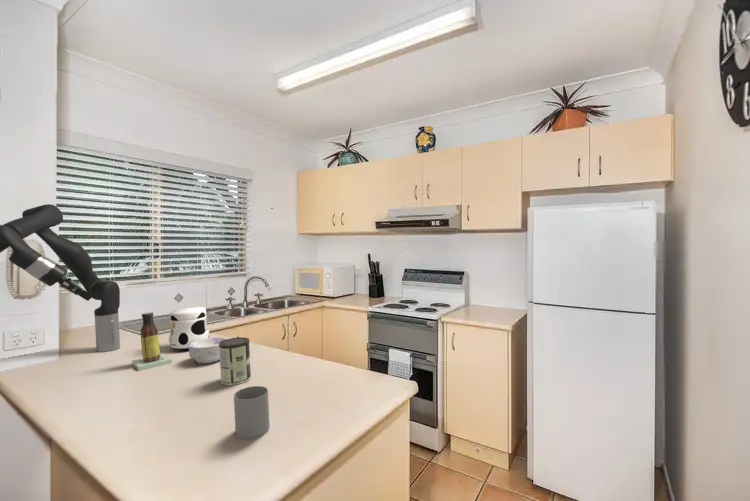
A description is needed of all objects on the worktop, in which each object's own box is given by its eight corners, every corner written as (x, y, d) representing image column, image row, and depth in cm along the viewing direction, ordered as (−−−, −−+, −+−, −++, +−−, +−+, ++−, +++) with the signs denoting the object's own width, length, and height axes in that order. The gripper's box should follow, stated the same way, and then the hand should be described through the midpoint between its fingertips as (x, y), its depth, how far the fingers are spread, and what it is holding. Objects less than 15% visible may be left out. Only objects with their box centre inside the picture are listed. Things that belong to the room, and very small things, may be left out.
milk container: (162, 349, 171) (160, 311, 170) (198, 340, 185) (196, 305, 184) (181, 354, 161) (179, 315, 160) (217, 344, 175) (215, 308, 175)
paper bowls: (181, 364, 148) (180, 345, 148) (210, 353, 162) (209, 335, 162) (208, 367, 142) (207, 348, 142) (236, 356, 156) (235, 338, 156)
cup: (241, 423, 97) (239, 387, 97) (272, 421, 98) (270, 385, 98) (231, 440, 89) (229, 401, 89) (265, 438, 89) (263, 398, 89)
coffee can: (236, 373, 136) (234, 336, 135) (257, 376, 131) (255, 338, 131) (213, 383, 126) (212, 343, 126) (235, 387, 122) (233, 346, 122)
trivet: (132, 364, 150) (131, 360, 150) (164, 356, 159) (163, 353, 159) (138, 370, 142) (138, 366, 142) (172, 362, 150) (171, 359, 150)
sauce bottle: (163, 357, 153) (161, 311, 152) (153, 362, 147) (150, 314, 146) (149, 357, 153) (146, 311, 153) (138, 362, 147) (135, 314, 147)
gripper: (36, 277, 132) (79, 302, 141) (36, 280, 122) (82, 308, 131) (54, 261, 136) (95, 287, 144) (56, 263, 125) (99, 291, 134)
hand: (89, 297), depth 138 cm, fingers open, 8 cm apart
